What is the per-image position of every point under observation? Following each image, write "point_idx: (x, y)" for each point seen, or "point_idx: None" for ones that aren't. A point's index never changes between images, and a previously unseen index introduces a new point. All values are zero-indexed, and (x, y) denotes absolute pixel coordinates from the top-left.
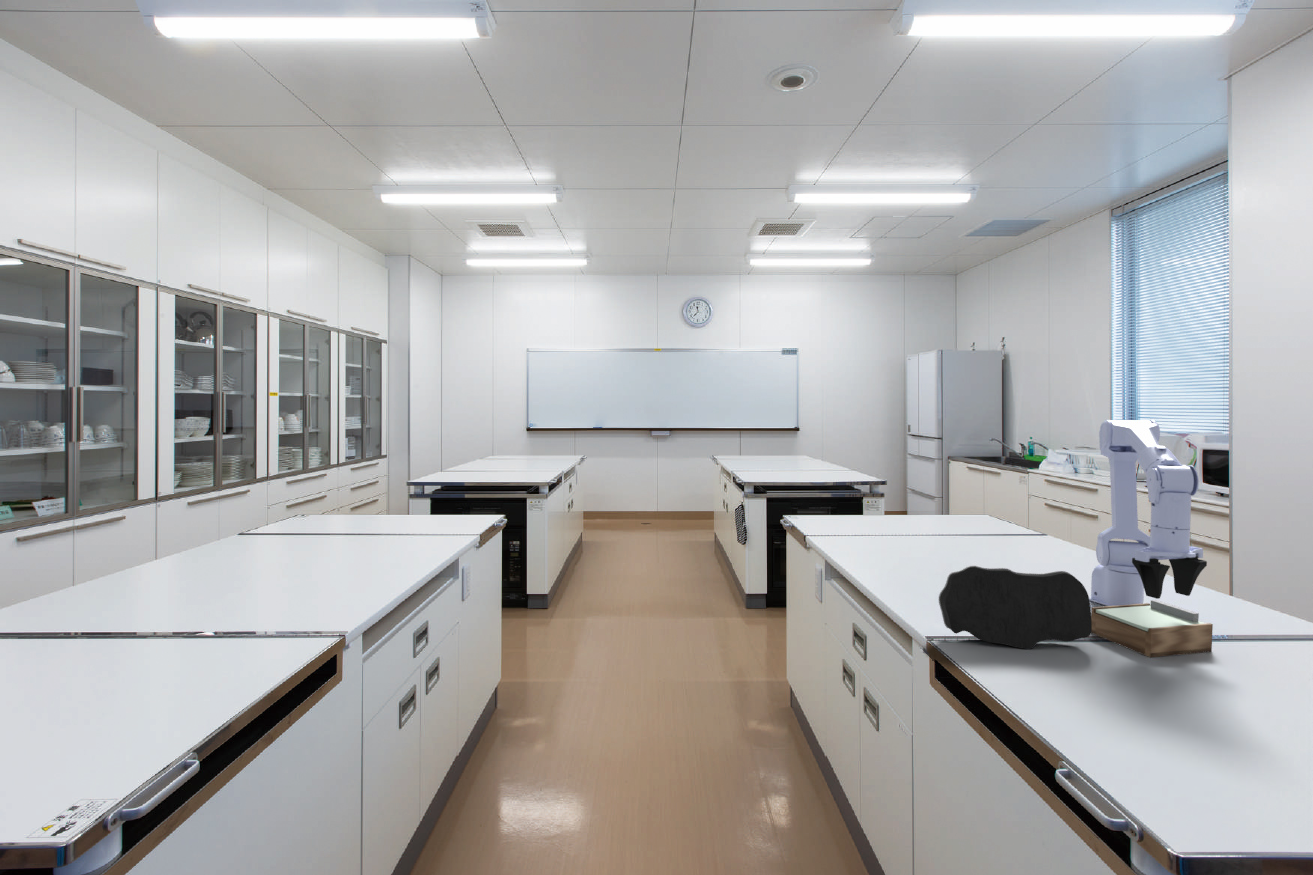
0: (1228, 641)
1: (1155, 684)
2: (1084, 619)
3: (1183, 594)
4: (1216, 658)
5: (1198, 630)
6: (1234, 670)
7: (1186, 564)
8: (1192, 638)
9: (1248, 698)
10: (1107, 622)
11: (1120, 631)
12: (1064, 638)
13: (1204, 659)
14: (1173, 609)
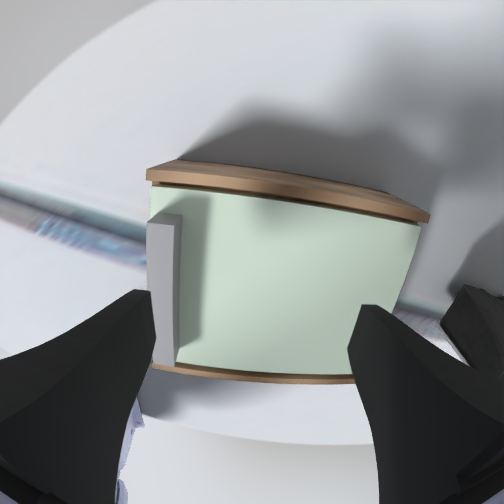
0: (62, 202)
1: (493, 121)
2: (487, 311)
3: (151, 308)
4: (217, 123)
5: (220, 173)
6: (267, 60)
7: (71, 462)
8: (249, 172)
9: (407, 4)
10: None
11: None
12: (486, 294)
13: (260, 129)
14: (173, 296)
